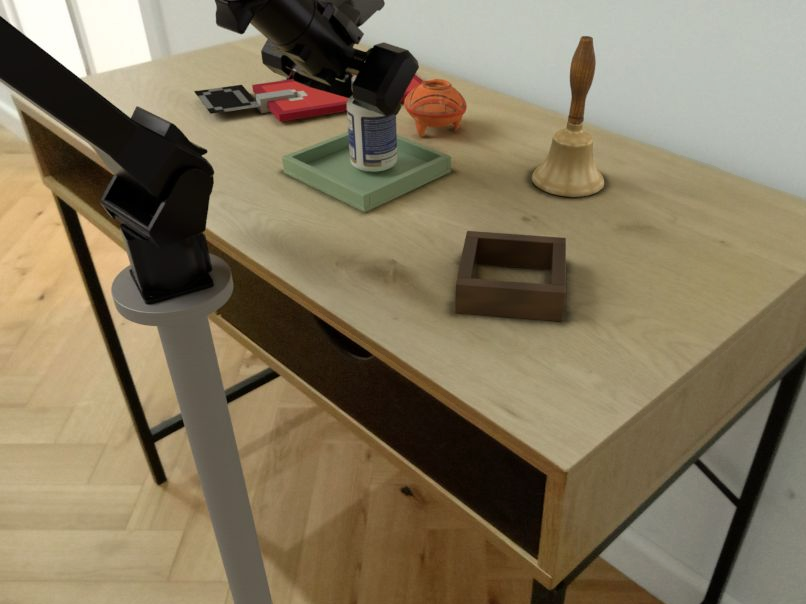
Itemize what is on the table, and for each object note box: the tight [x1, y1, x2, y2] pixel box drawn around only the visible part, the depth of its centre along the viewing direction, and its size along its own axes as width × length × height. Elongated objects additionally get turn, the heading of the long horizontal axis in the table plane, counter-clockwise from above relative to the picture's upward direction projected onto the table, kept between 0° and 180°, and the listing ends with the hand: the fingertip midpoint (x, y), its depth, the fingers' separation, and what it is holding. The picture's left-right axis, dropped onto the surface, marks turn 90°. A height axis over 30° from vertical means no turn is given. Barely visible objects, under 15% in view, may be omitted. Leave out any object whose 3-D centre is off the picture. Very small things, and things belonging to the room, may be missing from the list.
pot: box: [403, 78, 468, 138], centre depth 98 cm, size 8×8×7 cm
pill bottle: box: [346, 75, 398, 172], centre depth 87 cm, size 5×5×10 cm
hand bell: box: [531, 35, 605, 198], centre depth 84 cm, size 8×8×16 cm
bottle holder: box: [454, 230, 567, 322], centre depth 71 cm, size 9×9×3 cm
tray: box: [281, 131, 452, 213], centre depth 89 cm, size 14×14×2 cm
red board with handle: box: [193, 69, 424, 122], centre depth 107 cm, size 30×3×15 cm
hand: (380, 104), depth 86 cm, fingers closed on pill bottle, 5 cm apart
